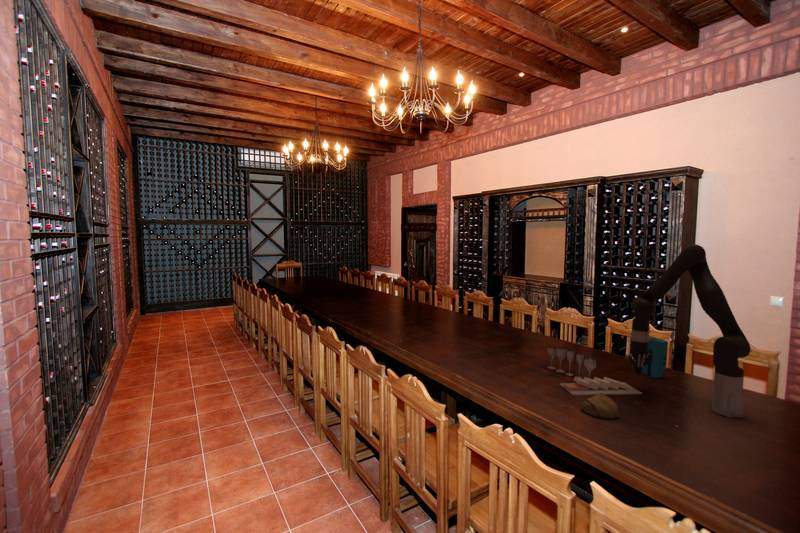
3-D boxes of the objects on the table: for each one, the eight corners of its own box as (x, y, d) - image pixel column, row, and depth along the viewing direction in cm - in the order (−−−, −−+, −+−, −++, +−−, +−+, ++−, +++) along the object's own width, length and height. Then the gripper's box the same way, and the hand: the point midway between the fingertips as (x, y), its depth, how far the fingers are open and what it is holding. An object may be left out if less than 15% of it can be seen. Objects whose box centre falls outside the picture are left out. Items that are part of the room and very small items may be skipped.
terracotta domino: (588, 387, 181) (568, 387, 180) (588, 390, 181) (568, 390, 180) (583, 383, 186) (563, 383, 185) (583, 386, 186) (563, 386, 185)
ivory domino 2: (608, 387, 181) (590, 380, 180) (607, 390, 181) (589, 383, 181) (602, 382, 186) (584, 376, 185) (601, 385, 186) (583, 379, 186)
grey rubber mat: (642, 394, 178) (642, 393, 178) (573, 395, 176) (573, 394, 176) (624, 383, 191) (624, 382, 191) (559, 384, 189) (559, 383, 189)
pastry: (622, 413, 160) (623, 395, 159) (615, 424, 150) (616, 404, 150) (586, 403, 169) (587, 385, 168) (578, 412, 160) (578, 394, 159)
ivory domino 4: (629, 386, 182) (610, 380, 181) (627, 389, 182) (609, 383, 181) (622, 382, 187) (604, 376, 186) (621, 385, 187) (603, 379, 186)
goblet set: (544, 367, 213) (545, 344, 212) (551, 365, 216) (552, 343, 215) (590, 384, 189) (592, 359, 188) (597, 382, 192) (599, 357, 191)
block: (666, 378, 199) (668, 341, 197) (659, 379, 197) (662, 342, 195) (644, 370, 210) (646, 335, 208) (638, 371, 208) (640, 336, 206)
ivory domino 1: (598, 387, 181) (580, 380, 180) (597, 390, 181) (579, 384, 180) (592, 383, 186) (574, 376, 185) (591, 386, 186) (573, 379, 185)
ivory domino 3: (619, 386, 182) (600, 380, 181) (617, 389, 182) (599, 383, 181) (612, 382, 187) (594, 376, 186) (611, 385, 187) (593, 379, 186)
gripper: (646, 337, 187) (644, 370, 188) (621, 337, 185) (620, 371, 187) (658, 341, 179) (656, 376, 180) (632, 341, 178) (630, 377, 179)
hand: (637, 373), depth 184 cm, fingers closed
